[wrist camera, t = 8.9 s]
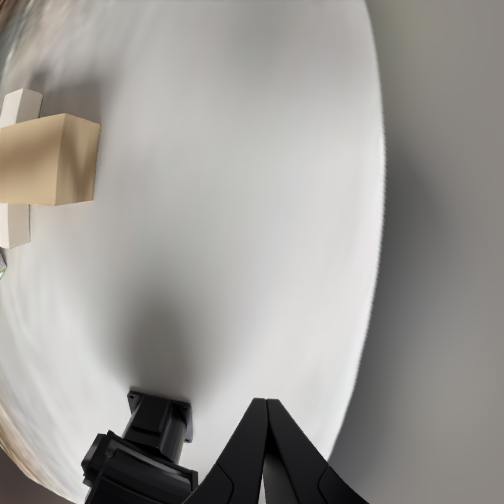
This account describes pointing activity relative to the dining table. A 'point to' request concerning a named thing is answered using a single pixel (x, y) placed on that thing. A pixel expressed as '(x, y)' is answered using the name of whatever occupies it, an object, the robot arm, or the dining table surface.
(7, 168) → the oak block
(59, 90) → the dining table surface
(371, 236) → the dining table surface
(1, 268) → the syrup box
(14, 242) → the plank
